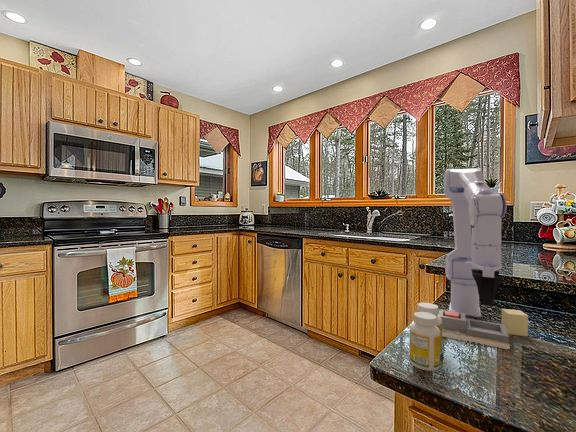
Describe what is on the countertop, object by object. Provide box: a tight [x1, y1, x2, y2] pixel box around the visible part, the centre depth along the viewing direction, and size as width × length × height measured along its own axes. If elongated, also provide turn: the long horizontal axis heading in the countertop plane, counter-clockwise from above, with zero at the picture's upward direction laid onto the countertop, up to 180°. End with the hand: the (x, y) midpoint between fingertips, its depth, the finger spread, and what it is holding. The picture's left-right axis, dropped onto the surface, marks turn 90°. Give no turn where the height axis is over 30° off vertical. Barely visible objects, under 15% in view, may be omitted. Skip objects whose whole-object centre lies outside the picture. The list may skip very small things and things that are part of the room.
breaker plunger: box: [445, 310, 459, 318], centre depth 70 cm, size 3×3×3 cm
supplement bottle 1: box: [417, 302, 443, 356], centre depth 60 cm, size 5×5×10 cm
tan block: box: [501, 308, 529, 337], centre depth 70 cm, size 4×4×5 cm
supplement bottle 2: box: [409, 311, 441, 372], centre depth 55 cm, size 5×5×10 cm
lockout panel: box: [437, 309, 511, 350], centre depth 68 cm, size 10×14×4 cm
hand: (485, 302), depth 67 cm, fingers open, 4 cm apart
